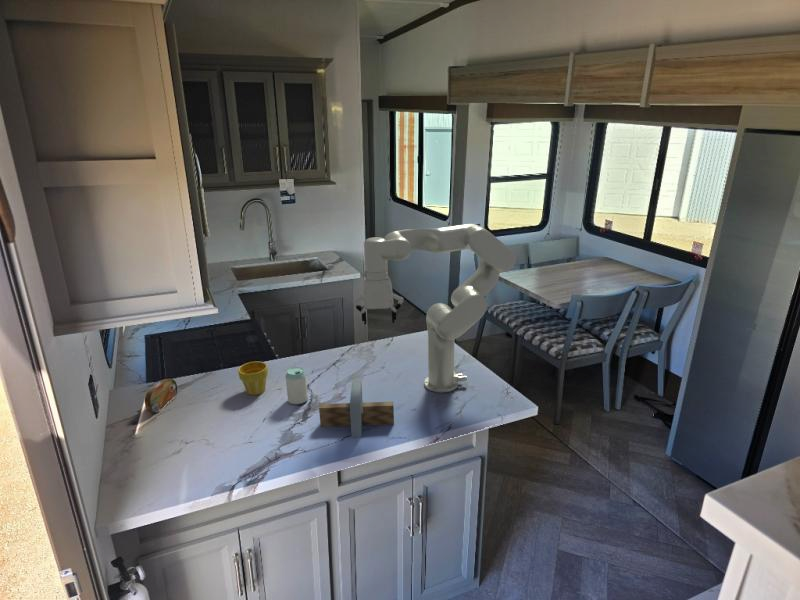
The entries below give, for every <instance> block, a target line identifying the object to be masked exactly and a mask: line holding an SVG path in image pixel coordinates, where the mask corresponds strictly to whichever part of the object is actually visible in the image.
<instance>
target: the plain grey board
mask: <svg viewBox="0 0 800 600" xmlns="http://www.w3.org/2000/svg"><path fill="white" fill-rule="evenodd" d="M362 387H363V385H362V378H356V379H352V381H351V389H350V397H349V403H350V417H351V426H350V429H351V430H350V431H351V438H353V439H354V438H362V433H363V432H362V431H363V425H362V412H363V407H362V406H363V403H364V402H363V388H362Z"/></svg>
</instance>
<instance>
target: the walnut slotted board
mask: <svg viewBox="0 0 800 600" xmlns="http://www.w3.org/2000/svg"><path fill="white" fill-rule="evenodd" d="M362 407H363V412H362V426H380V425H381V426H383V425H384V426H385V425H395V415H394V401H373V402H371V401H369V402H363V406H362ZM318 410H319V411H318V412H319V420H320V422H319V423H320V427H321V428H323V427H328V428H329V427H349V426H350V427H351V417H350V402H344V403H342V402H341V403H339V402H338V403H319V407H318Z"/></svg>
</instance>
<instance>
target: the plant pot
mask: <svg viewBox="0 0 800 600" xmlns="http://www.w3.org/2000/svg"><path fill="white" fill-rule="evenodd" d="M237 371H238V376H239V380H241V381H242V384H243V386H244V389H245V391H246V393H247V394H248V395H249V394H250V395H249V396H259V395H261V394H263V393H264V392H265V391H266V384H267V376H268V374H269V370H268V365H267V363H265V362H263V361H258V360H257V361H249V362H247V363H243V364H242V365H241V366H239V367H238V369H237Z"/></svg>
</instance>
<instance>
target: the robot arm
mask: <svg viewBox="0 0 800 600" xmlns="http://www.w3.org/2000/svg"><path fill="white" fill-rule="evenodd" d="M464 250H470V251H472V252H473V253H474V254H476V256H477V257H479V264H478V267H477V268H476V270H475V271H474V273H473V274H472V275H470V276H469V277H468V278H467V279H466V280H465V281H463V283H461V284H460V285H459V286H458V287H456V288H455V289H454V290H453V292H452V293H451V294H450V295H451V296H450V301H451V303H452V305H453V308H451V307H450V305H447V304H446V303H443V302H438V303H434V304H432V305H431V306H430V307H429V308H428V310H427V312H426V315H425V316H426V329H427V338H428V339H427V343H428V345H427V349H428V350H427V351H428V353H427V355H428V356H427V357H428V360H427V363H428V365H427V366H428V367H427V369H428V376H427V377H426V378H425V379H424V381H423V383H424V387H425V388H426V389H427V390H428V391H431V392H434V393H440V394H441V393H449V392H453V391H454V390H456V389H457V388H458V386H459V382H467V381H468V378H467V377H468V376H467V375H463V373H456V372H455V346H456V345H455V344H456V343H455V341H456V339H458V338H459V337H461V336H462V335H463V334H464V333H465V332H467V331H468V330H469V329H470V328H472V326H474V325H475V324H476V323H478V322H479V321H480V319H482V318H483V316H484V315H485V314H486V311H487V310H488V301H487V298H486V297H485V296H487V295H488V293H490V291H491V290H493V289H494V287H495V286H496V285H497V283H498V280H499V279H500V274H501V273H505V272H509V271H510V270H512V269H513V268H514V266H515V265H516V261H517V257H516V254H515V252H514V251H513V250H512V249H511V248H510V247H509V246H508V245H507V244H505V243H504V242H502V240H500V239H498V237H496V236H495V235H493V233H491V232H490V231H489V230H487V229H486V228H484V227H482V226H480V225H478V224H476V223H463V224H457V225H450V226H444V227H437V228H433V227H431V228H430V227H428V228H411V229H410V228H409V229H402V230H401V229H400V230H396V231H395V230H394V231H391V232H389V233H387V234H386V235H385V236H384V237H379V236H378V237H368V238H366V239H365V240H364V241H363V251H364V252H363V253H364V271H362V272H360V273H361V274H360V276H361V277H364V279H363V284H362V294H361V295H360V296H357V297H356V298H355V299H353V300H352V304H353V306H354V307H355V309H356V310H357V311H358V312H360V314H361V321H362V322H363V324H364V325H367V310H380V309H384V310H385V309H391V321H392V324H395V320H397V311H398V310H399V309H400V308H401V306H402V304H403V303H404V300H405V299H404V297H402V296H400V295H399V294H397V293H393V284H392V280H391V277H390V276H389V268H388V267H389V265H388V262H389V261H404V260H406V259H407V258H409V257H410V256H411V254H412V252H413V251H425V252H430V253H435V254H444V253H451V252H457V251H464ZM394 299H395V300H397V301H398V302H397V303H396V304H395V303H394ZM360 302H363V303H362V305H360V304H359V303H360Z"/></svg>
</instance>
